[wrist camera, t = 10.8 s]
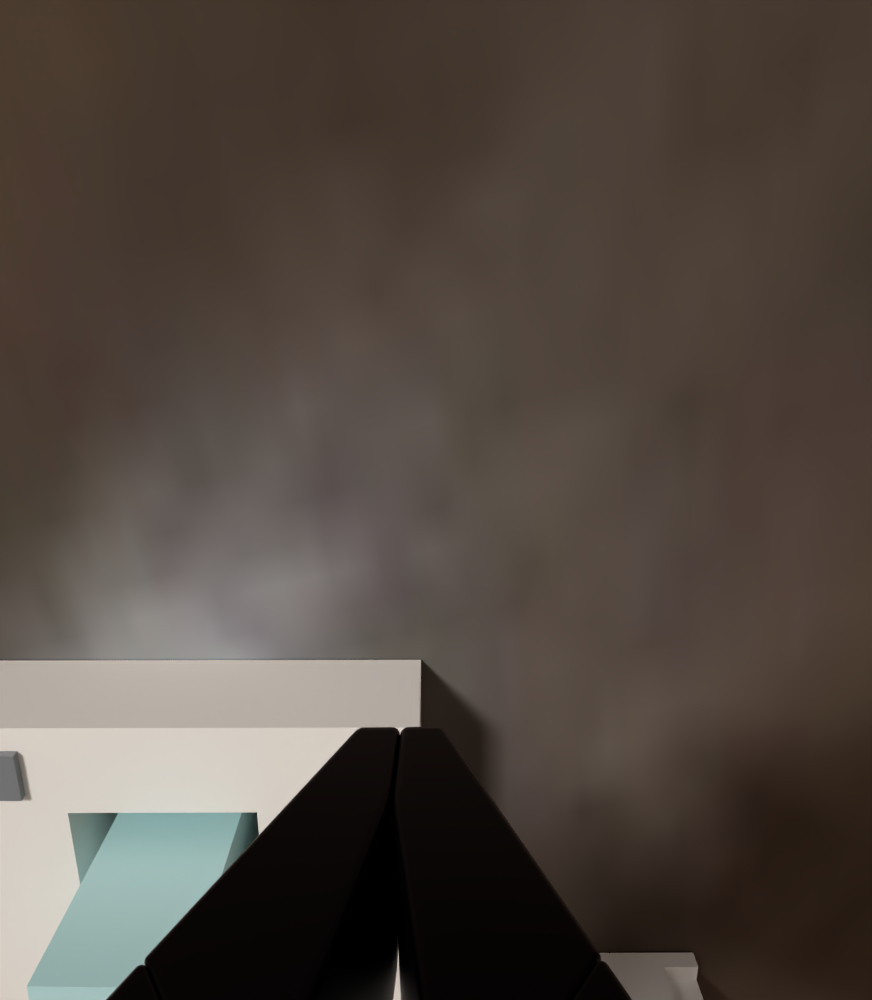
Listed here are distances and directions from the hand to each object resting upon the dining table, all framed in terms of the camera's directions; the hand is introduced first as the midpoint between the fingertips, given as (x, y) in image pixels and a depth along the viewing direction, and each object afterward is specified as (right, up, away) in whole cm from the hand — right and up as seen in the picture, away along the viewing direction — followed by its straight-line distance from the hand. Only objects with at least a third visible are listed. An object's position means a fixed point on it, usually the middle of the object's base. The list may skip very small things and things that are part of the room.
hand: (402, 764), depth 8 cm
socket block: (-6, -6, +15) cm, 17 cm away
